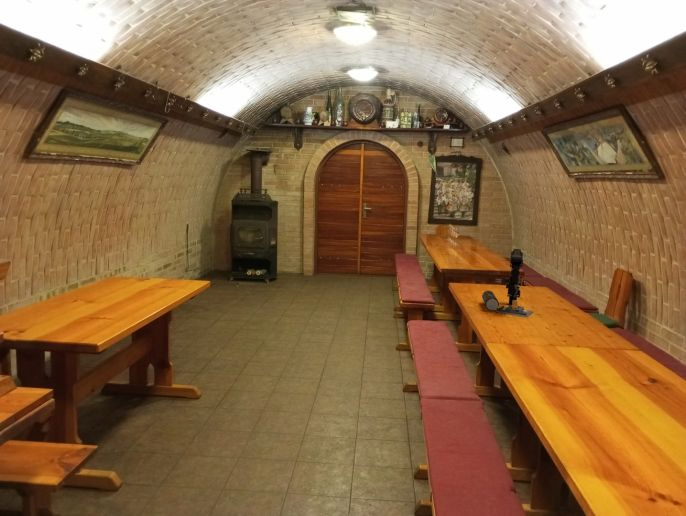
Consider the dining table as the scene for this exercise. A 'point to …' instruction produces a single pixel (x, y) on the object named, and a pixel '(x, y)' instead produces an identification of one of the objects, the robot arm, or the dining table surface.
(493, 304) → the muzzle brake
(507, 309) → the box
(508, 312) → the panel
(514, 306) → the toggle
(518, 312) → the grey flat frame
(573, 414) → the dining table surface
